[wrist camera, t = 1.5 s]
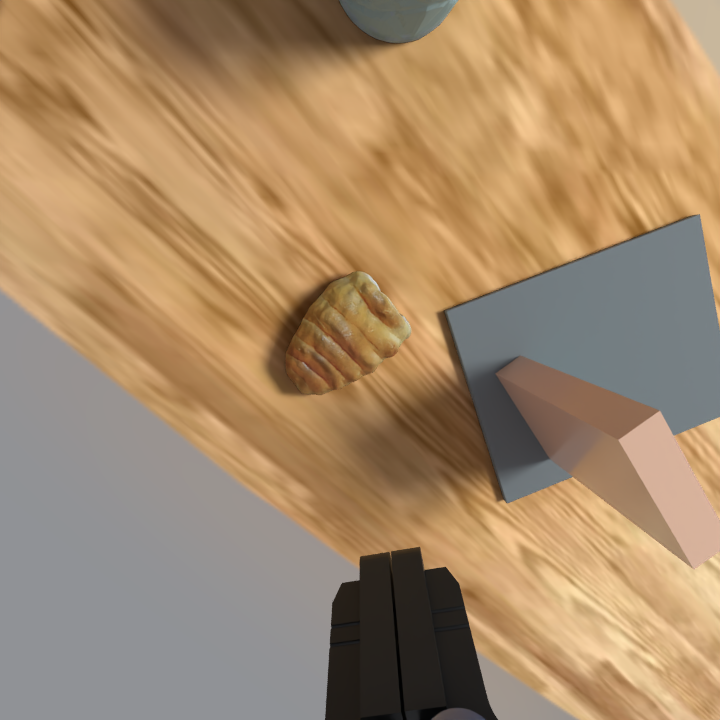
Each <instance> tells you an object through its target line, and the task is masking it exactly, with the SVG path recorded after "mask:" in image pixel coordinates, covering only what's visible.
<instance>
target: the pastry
mask: <svg viewBox="0 0 720 720" xmlns="http://www.w3.org/2000/svg"><path fill="white" fill-rule="evenodd" d="M410 334H411V327H410V324H409V322H408V321H407V320H406V318H405V317H404V316H403V315H401V314H400V313H399V312H398V310H397V309H396V307H395V306H394V305H393V304H392V302H391V301H390V299H389V298H388V297H387V296H386V295H385V294H383V293H382V292H380V289H379V287H378V285H377V283H376V282H375V281H374V280H373V279H372V277H371V276H369V275H368V274H366V273H364V272H360V271H356V272H352V273H351V274H349V275H347V276H346V277H344V278H341V279H338V280H336V281H333V282H332V283H331V284H329V285H328V286H327V288H326V289H325V291H324V292H323V293H322V294H321V295H320V296H319V298H318V299H317V300H316V301H315V302H314V303H313V304H312V305H311V306H310V307H309V309H308V311H307V313H306V315H305V316H304V318H303V320H302V322H301V324H300V326H299V328H298V330H297V332H296V333H295V335H294V336H293V338H292V340H291V342H290V344H289V347H288V349H287V351H286V372H287V375H288V376H289V378H290V379H291V381H292V382H293V383H294V384H295V385H296V387H297V388H298V390H299V391H300V392H302V393H303V394H316V395H322V394H325V393H327V392H329V391H332V390H337V389H341V388H343V387H344V386H346V385H348V384H350V383H351V382H354V381H357V380H358V379H360V378H361V377H362V376H364V375H367V374H370V373H373V372H374V371H375V369H376V368H377V366H378V365H379V364H380V363H382V362H383V360H384V359H385V358H388V357H392V356H394V355H395V354H396V353H397V352H398V349H399V347H400V345H401V343H402V342H403V341H404V340H405V339H407V338H409V336H410Z"/></svg>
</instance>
